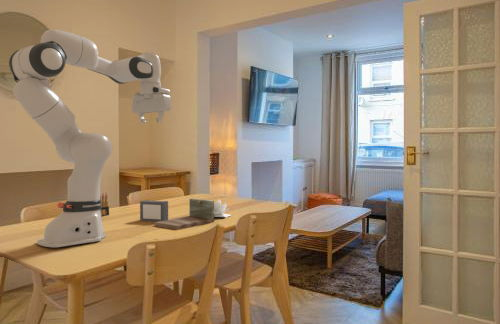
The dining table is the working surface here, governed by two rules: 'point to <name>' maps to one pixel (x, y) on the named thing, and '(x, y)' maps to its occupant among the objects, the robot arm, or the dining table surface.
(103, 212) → the ammunition clip
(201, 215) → the bookend
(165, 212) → the picture frame
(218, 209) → the lotus flower
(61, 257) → the dining table surface
